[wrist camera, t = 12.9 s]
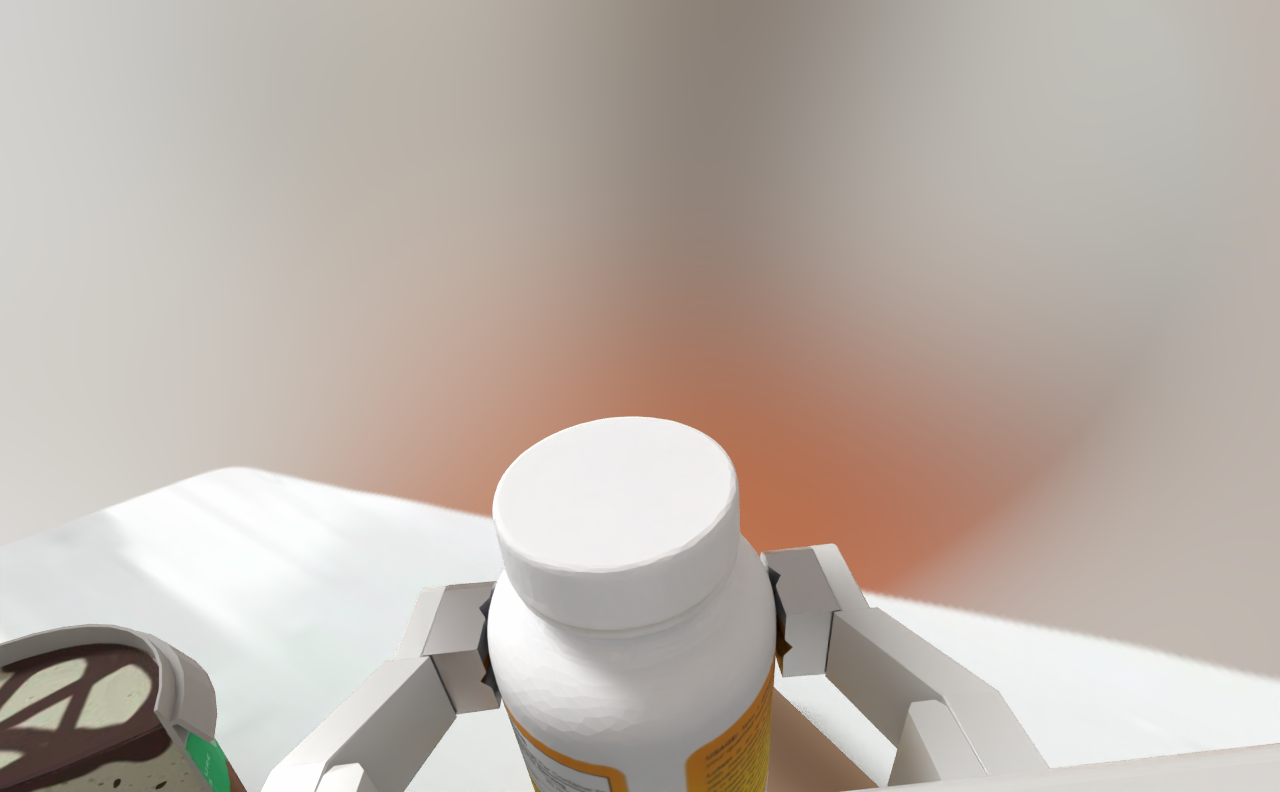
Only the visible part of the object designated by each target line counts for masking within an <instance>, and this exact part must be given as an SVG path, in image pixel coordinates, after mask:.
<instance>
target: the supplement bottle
mask: <svg viewBox="0 0 1280 792" xmlns="http://www.w3.org/2000/svg"><path fill="white" fill-rule="evenodd" d="M493 520H494V525H495V529H496V533H497V537H498V542H499V545H500V549H501V553H502V558H503V563H504V567H505V568H504V570H503V572H502V574H501V576H500V578H499V580H498V582H497V585H496V587H495V590H494V593H493V597H492V600H491V604H490V608H489V615H488V625H487V634H488V648H489V655H490V659H491V664H492V668H493V671H494V675H495V679H496V683H497V686H498V688H499V691H500V694H501V697H502V699H503V702H504V706H505V708H506V710H507V713H508V716H509V719H510V721H511V724H512V727H513V730H514V733H515V735H516V738H517V741H518V744H519V747H520V750H521V753H522V755H523V758H524V761H525V764H526V767H527V770H528V773H529V776H530V778H531V781H532V784H533V787H534V789H535V792H767V784H768V765H769V749H770V731H771V716H772V701H773V686H774V671H775V655H776V608H775V600H774V594H773V590H772V586H771V582H770V579H769V577H768V574H767V571H766V569H765V567H764V565H763V563H762V561H761V559H760V558H759V556H758V554H757V553H756V551H755V550H754V549H753V547H752V546H751V545H750V544H749V543H748V541H747V540H746V539H745V538H744V537H743V536H742V535H741V534H740V517H739V488H738V479H737V475H736V471H735V468H734V465H733V463H732V462H731V460H730V458H729V456H728V455H727V453H726V452H725V451H724V449H723V448H722V447H721V446H720V445H719V444H718V443H717V442H715V441H714V440H713V439H712V438H710V437H708V436H707V435H705V434H704V433H702V432H700V431H698V430H696V429H694V428H692V427H689V426H687V425H683V424H681V423H678V422H674V421H670V420H665V419H658V418H651V417H615V418H606V419H600V420H595V421H591V422H587V423H582V424H579V425H576V426H573V427H570V428H567V429H564V430H562V431H560V432H557V433H555V434H553V435H551V436H549V437H547V438H545V439H543V440H542V441H540V442H538V443H537V444H535V445H534V446H532V447H531V448H529V449H528V450H526V451H525V452H524V453H523V454H521V455H520V456H519V457H518V458H517V459H516V460H515V461H514V462H513V463H512V464H511V466H510V467H509V468H508V469H507V470H506V472H505V473H504V475H503V476H502V478H501V481H500V482H499V484H498V487H497V490H496V493H495V496H494V502H493Z"/></svg>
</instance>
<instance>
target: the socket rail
mask: <svg viewBox="0 0 1280 792" xmlns="http://www.w3.org/2000/svg"><path fill="white" fill-rule="evenodd" d="M871 788H879V787H878V786H877V785H876V784H875V783H874V782H873V781H872V780H871V779H870V778H869V777H868V776H867V775H866V774H865V773H864V772H862V771H861V770H860V769H859V768H858V767H857V766H856V765H855V764H854V763H853V762H852V761H851V760H850V759H849V758H848V757H847V756H846V755H845V754H844V753H842V752H841V751H840V750H839V749H838V748H837V747H836V746H835V745H834V744H833V743H832V742H831V741H830V740H829V739H828V738H827V737H826V736H825V735H823V734H822V733H821V732H820V731H819V730H818V729H817V728H816V727H815V726H814V725H813V724H812V723H811V722H810V721H809V720H808V719H807V718H806V717H805V716H803V715H802V714H801V713H800V712H799V711H798V710H797V709H796V708H795V707H794V706H793V705H792V704H791V703H790V702H789V701H788V700H787V699H786V698H785V697H783V696H782V695H781V694H780V693H779V692H778V691H777V690H776V689H775V688H774V687H773V701H772V716H771V731H770V749H769V765H768V784H767V792H844V791H853V790H862V789H871Z"/></svg>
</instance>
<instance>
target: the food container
mask: <svg viewBox="0 0 1280 792" xmlns="http://www.w3.org/2000/svg"><path fill="white" fill-rule="evenodd" d="M216 718H217V708H216V697H215V691H214V688H213V686H212V683H211V681H210V679H209V676H208V674H207V673H206V672H205V671H204V670H203V668H202V667H201V666H200V665H199V664H198V663H197V662H196V661H195V660H193V659H192V658H190V657H188V656H187V655H185V654H184V653H182V652H180V651H179V650H177V649H175V648H174V647H172V646H171V645H169V644H167V643H166V642H164V641H162V640H160V639H158V638H157V637H155V636H153V635H151V634H147V633H143V632H139V631H134V630H132V629H129V628H124V627H120V626H116V625H104V624H86V625H77V626H68V627H61V628H57V629H52V630H47V631H43V632H38V633H34V634H30V635H27V636H24V637H20V638H17V639H14V640H11V641H7V642H4V643H1V644H0V792H247V791H246V789H245V788H244V786H243V784H242V783H241V781H240V779H239V778H238V776H237V774H236V773H235V771H234V769H233V768H232V766H231V764H230V763H229V761H228V759H227V758H226V756H225V754H224V753H223V751H222V749H221V748H220V746H219V744H218V743H217V741H216V739H215V738H214V735H215V727H216Z"/></svg>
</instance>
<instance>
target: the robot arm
mask: <svg viewBox="0 0 1280 792" xmlns="http://www.w3.org/2000/svg"><path fill="white" fill-rule="evenodd" d="M760 559H761V561H762V563H763V565H764V567H765V569H766V571H767V574H768V577H769V579H770V582H771V586H772V590H773V594H774V600H775V608H776V658H777V661H778V665H779V668H780V671H781V674H782V677H793V676H806V675H818V674H826V677H827V678H828V679H829V680H830V681H831V682H832V683H833V684H834V685H835V686H836V687H837V688H838V689H839V690H840V691H841V692H842V693H843V694H844V695H845V696H846V697H847V698H848V699H849V700H850V701H851V702H852V703H853V704H854V705H855V706H856V707H857V708H858V709H859V710H860V712H861V713H862V714H863V715H864V716H865V717H866V718H867V719H868V720H869V721H870V722H871V723H872V724H873V725H874V726H875V727H876V728H877V729H878V730H879V731H880V732H881V733H882V734H883V735H884V736H885V737H886V738H887V739H888V740H889V741H890V742H891V743H892V744H893V745H894V746H895V747H896V748H897V749H898V750H897V753H896V757H895V761H894V764H893V768H892V771H891V775H890V778H889V782H888V787H880V788H871V789H862V790H853V791H844V792H1280V743H1276V744H1267V745H1258V746H1249V747H1240V748H1231V749H1222V750H1213V751H1204V752H1195V753H1186V754H1177V755H1168V756H1159V757H1150V758H1141V759H1132V760H1123V761H1114V762H1105V763H1096V764H1087V765H1078V766H1069V767H1060V768H1051V769H1050V768H1049V766H1048V765H1047V763H1046V762H1045V760H1044V759H1043V757H1042V756H1041V754H1040V753H1039V751H1038V750H1037V748H1036V747H1035V745H1034V744H1033V742H1032V741H1031V739H1030V738H1029V736H1028V735H1027V733H1026V732H1025V730H1024V729H1023V727H1022V726H1021V724H1020V723H1019V721H1018V720H1017V718H1016V717H1015V715H1014V714H1013V712H1012V711H1011V709H1010V708H1009V706H1008V705H1007V703H1006V702H1005V700H1004V699H1003V697H1002V696H1001V694H1000V693H999V691H998V690H996V689H995V688H993V687H992V686H990V685H989V684H987V683H986V682H985V681H983V680H982V679H980V678H979V677H977V676H976V675H974V674H973V673H972V672H970V671H969V670H967V669H966V668H964V667H963V666H961V665H960V664H959V663H957V662H956V661H954V660H953V659H951V658H950V657H948V656H947V655H946V654H944V653H943V652H941V651H940V650H938V649H937V648H935V647H934V646H933V645H931V644H930V643H928V642H927V641H925V640H924V639H922V638H921V637H920V636H918V635H917V634H915V633H914V632H912V631H911V630H909V629H908V628H906V627H905V626H904V625H902V624H901V623H899V622H898V621H896V620H895V619H893V618H892V617H891V616H889V615H888V614H886V613H885V612H883V611H882V610H880V609H879V608H878V607H876V608H870V607H869V605H868V603H867V602H866V600H865V598H864V596H863V594H862V592H861V590H860V588H859V586H858V585H857V583H856V581H855V579H854V577H853V575H852V573H851V571H850V569H849V568H848V566H847V564H846V562H845V560H844V558H843V556H842V554H841V553H840V551H839V549H838V547H837V546H836V545H835V544H826V545H816V546H810V547H807V546H806V547H798V548H790V549H781V550H773V551H765V552H761V555H760ZM496 585H497V582H496V581H493V582H481V583H469V584H457V585H448V586H438V587H426V588H424V589H423V590H422V591H421V592H420V594H419V595H418V598H417V600H416V603H415V605H414V608H413V610H412V613H411V616H410V618H409V621H408V623H407V626H406V629H405V631H404V634H403V636H402V639H401V641H400V644H399V647H398V649H397V652H396V654H395V657H394V660H389V661H385V662H384V663H383V664H382V665H381V666H380V667H379V668H378V669H377V670H376V671H375V672H374V673H373V674H372V675H371V676H370V677H369V678H368V679H367V680H365V681H364V682H363V683H362V684H361V685H360V686H359V687H358V688H357V689H356V690H355V691H354V692H353V693H352V694H351V695H350V696H349V697H348V698H347V699H346V700H345V701H344V702H343V703H341V704H340V705H339V706H338V707H337V708H336V709H335V710H334V711H333V712H332V713H331V714H330V715H329V716H328V717H327V718H326V719H325V720H324V721H323V722H322V723H321V724H320V725H319V726H318V727H316V728H315V729H314V730H313V731H312V732H311V733H310V734H309V735H308V736H307V737H306V738H305V739H304V740H303V741H302V742H301V743H300V744H299V745H298V746H297V747H296V748H295V749H294V750H292V751H291V752H290V753H289V754H288V755H287V756H286V757H285V758H284V759H283V760H282V761H281V762H280V763H279V764H278V765H277V766H276V767H275V768H274V769H273V770H272V771H271V773H270V775H269V777H268V779H267V781H266V783H265V785H264V787H263V789H262V791H261V792H404V790H405V789H406V788H407V786H408V785H409V783H410V782H411V781H412V779H413V778H414V776H415V775H416V774H417V772H418V771H419V769H420V768H421V767H422V765H423V764H424V762H425V761H426V760H427V758H428V757H429V755H430V754H431V753H432V751H433V750H434V748H435V747H436V745H437V744H438V743H439V741H440V740H441V738H442V737H443V736H444V734H445V733H446V731H447V730H448V729H449V727H450V726H451V724H452V723H453V722H454V720H455V719H456V717H457V716H456V714H462V713H470V712H477V711H484V710H491V709H498V708H500V703H501V698H502V697H501V694H500V691H499V688H498V686H497V683H496V679H495V675H494V671H493V668H492V664H491V659H490V655H489V648H488V634H487V625H488V615H489V608H490V604H491V600H492V597H493V593H494V590H495V587H496Z"/></svg>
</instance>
